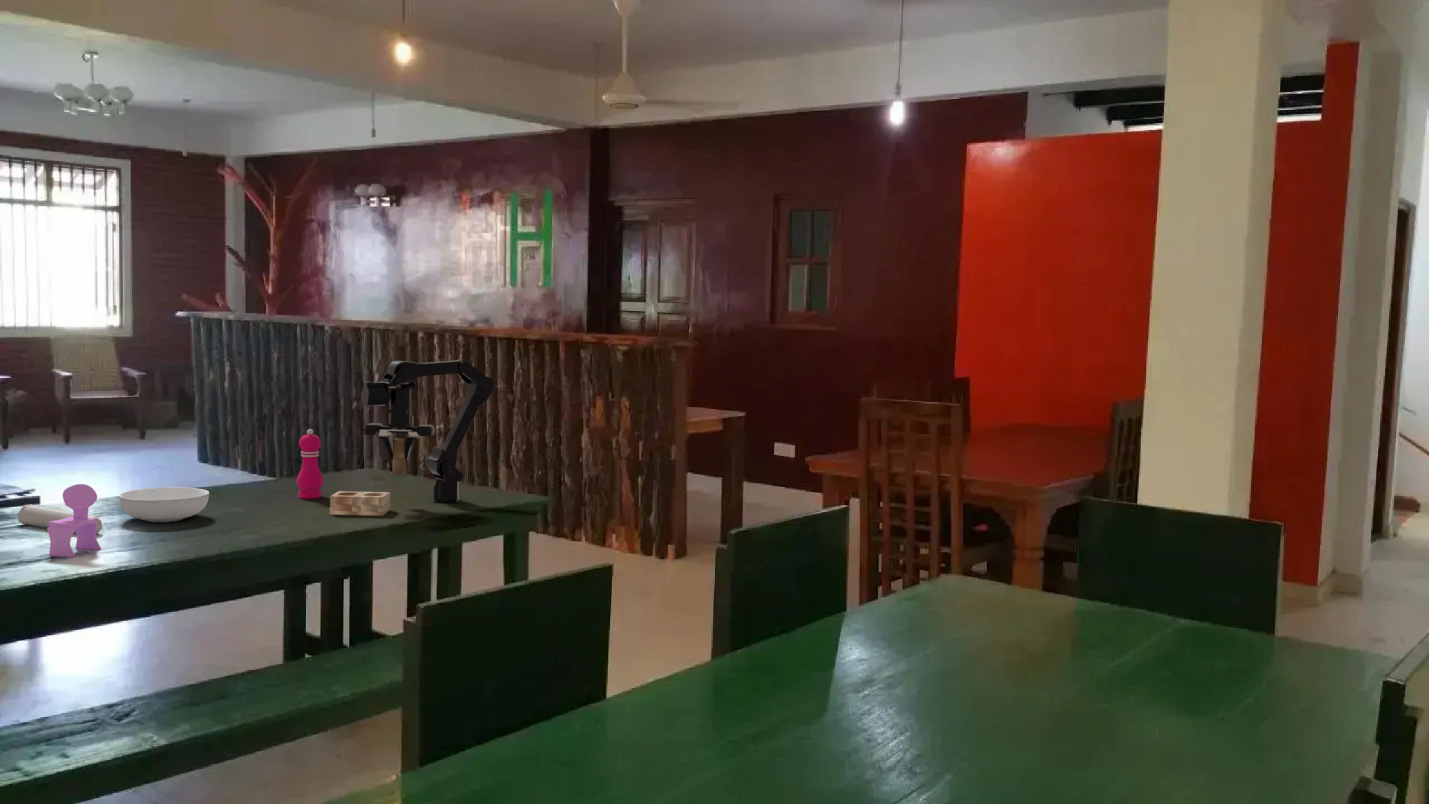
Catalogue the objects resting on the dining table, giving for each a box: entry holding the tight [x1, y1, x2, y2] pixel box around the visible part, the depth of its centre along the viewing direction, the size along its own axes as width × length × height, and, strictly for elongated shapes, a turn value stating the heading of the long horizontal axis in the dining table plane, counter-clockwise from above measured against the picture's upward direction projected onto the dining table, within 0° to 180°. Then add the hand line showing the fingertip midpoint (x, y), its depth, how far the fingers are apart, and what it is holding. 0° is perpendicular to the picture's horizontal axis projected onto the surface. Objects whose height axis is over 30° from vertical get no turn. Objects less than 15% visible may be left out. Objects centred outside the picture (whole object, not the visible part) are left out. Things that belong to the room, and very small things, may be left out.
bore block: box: [329, 490, 391, 517], centre depth 298 cm, size 14×8×5 cm, turn 94°
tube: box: [17, 503, 103, 535], centre depth 265 cm, size 5×5×25 cm
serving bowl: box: [118, 486, 210, 523], centre depth 281 cm, size 21×21×7 cm
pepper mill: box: [296, 428, 324, 500], centre depth 318 cm, size 7×7×20 cm
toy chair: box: [47, 483, 102, 558], centre depth 242 cm, size 8×9×15 cm
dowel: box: [392, 437, 407, 476], centre depth 310 cm, size 4×4×10 cm
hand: (399, 459), depth 310 cm, fingers closed on dowel, 4 cm apart
